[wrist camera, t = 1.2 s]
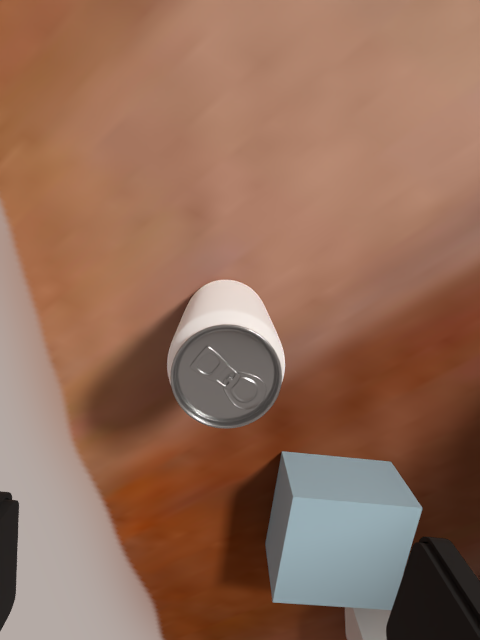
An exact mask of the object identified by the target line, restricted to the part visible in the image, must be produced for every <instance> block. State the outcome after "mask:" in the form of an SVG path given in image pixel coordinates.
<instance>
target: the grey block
mask: <svg viewBox="0 0 480 640" xmlns="http://www.w3.org/2000/svg"><path fill="white" fill-rule="evenodd" d="M403 575H404V574H403ZM402 578H403V576H402ZM401 581H402V580H401ZM390 613H391V610H381V609H366V608H351V607H345V630H346V637H347V640H387V637H386V626H387V622H388V619H389V616H390Z"/></svg>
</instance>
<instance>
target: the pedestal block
mask: <svg viewBox="0 0 480 640" xmlns="http://www.w3.org/2000/svg"><path fill="white" fill-rule="evenodd" d="M421 512H422V507H421V505H420V504H419V502H418V501H417V499H416V498H415V496H414V495H413V493H412V492H411V490H410V489H409V487H408V486H407V485H406V483H405V482H404V480H403V479H402V477H401V476H400V474H399V473H398V471H397V470H396V468H395V467H394V465H393V464H392V463H391V462H388V461H377V460H367V459H356V458H346V457H335V456H325V455H314V454H304V453H293V452H283V451H282V454H281V459H280V465H279V471H278V476H277V482H276V487H275V493H274V498H273V504H272V510H271V515H270V521H269V526H268V532H267V537H266V543H265V545H266V553H267V561H268V569H269V577H270V585H271V593H272V601H273V602H275V603H291V604H306V605H321V606H336V607H351V608H366V609H381V610H392V607H393V604H394V601H395V598H396V595H397V592H398V589H399V586H400V583H401V580H402V576H403V573H404V569H405V566H406V563H407V559H408V556H409V552H410V549H411V546H412V542H413V539H414V535H415V532H416V529H417V525H418V522H419V518H420V515H421Z"/></svg>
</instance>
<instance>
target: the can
mask: <svg viewBox="0 0 480 640" xmlns="http://www.w3.org/2000/svg"><path fill="white" fill-rule="evenodd" d="M167 372H168V378H169V381H170V384H171V387H172V391H173V394H174V396H175V398H176V400H177V402H178V404H179V405H180V406H181V408H182V409H183V410H184V411H185V412H186V413H187V414H188V415H189V416H190V417H192V418H193V419H195V420H196V421H198V422H200V423H202V424H205V425H208V426H211V427H216V428H236V427H241V426H244V425H247V424H249V423H252V422H254V421H255V420H257V419H259V418H260V417H261V416H263V415H264V414H265V413H266V412H267V411H268V410H269V409H270V408H271V406H272V405H273V404H274V402H275V400H276V399H277V396H278V394H279V391H280V388H281V384H282V381H283V377H284V372H285V358H284V352H283V348H282V345H281V342H280V339H279V337H278V335H277V332H276V330H275V328H274V326H273V323H272V321H271V319H270V317H269V315H268V312H267V310H266V308H265V306H264V304H263V302H262V300H261V299H260V297H259V296H258V295H257V293H256V292H255V291H254V290H252V289H251V288H250V287H248V286H247V285H245V284H243V283H241V282H238V281H234V280H218V281H214V282H211V283H208V284H206V285H205V286H203V287H202V288H200V289H199V290H198V291H197V292H196V293H195V294H194V295H193V296H192V298H191V299H190V301H189V303H188V305H187V307H186V309H185V311H184V314H183V316H182V318H181V321H180V323H179V325H178V328H177V330H176V333H175V335H174V337H173V340H172V343H171V345H170V349H169V352H168V359H167Z"/></svg>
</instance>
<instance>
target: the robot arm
mask: <svg viewBox="0 0 480 640" xmlns="http://www.w3.org/2000/svg"><path fill="white" fill-rule="evenodd" d="M18 513H19V503H18V501H16V500H12V495H11V493H9V492H0V631H1V629H2V627H3V625H4V623H5V621H6V620H7V618H8V616H9V614H10V612H11V609H12V606H13V603H14V600H15V594H16V570H17V542H18V515H19V514H18ZM386 637H387V640H480V581H479V580H478V578H477V577H476V576H475V574H474V573H473V571H472V570H471V569H470V567H469V566H468V564H467V563H466V562H465V560H464V559H463V557H462V556H461V555H460V553H459V552H458V550H457V549H456V548H455V546H454V545H453V544H452V543H451V541H449V540H448V539H443V538H434V537H422V538H421V539H420V541H419V543H415V544H414V545H413V548H412V551H411V554H410V557H409V560H408V563H407V566H406V569H405V572H404V575H403V578H402V581H401V583H400V586H399V589H398V592H397V595H396V598H395V601H394V604H393V607H392V610H391V613H390V616H389V619H388V622H387V626H386Z"/></svg>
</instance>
